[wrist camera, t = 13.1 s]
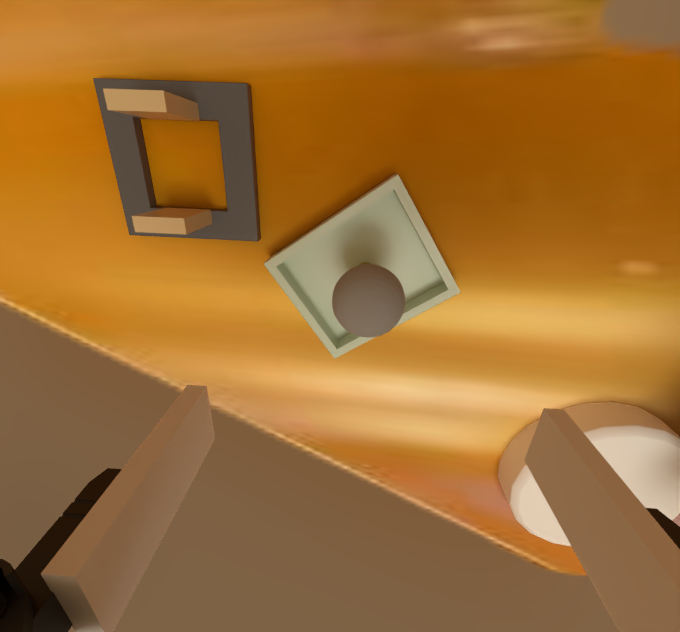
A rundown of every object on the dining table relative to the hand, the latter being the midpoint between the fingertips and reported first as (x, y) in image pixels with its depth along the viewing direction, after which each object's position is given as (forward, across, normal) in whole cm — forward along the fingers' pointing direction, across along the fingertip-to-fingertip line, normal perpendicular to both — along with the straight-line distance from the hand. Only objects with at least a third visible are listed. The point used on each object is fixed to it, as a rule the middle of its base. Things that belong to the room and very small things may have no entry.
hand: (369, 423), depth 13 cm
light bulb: (+20, 0, 0) cm, 20 cm away
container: (+21, +29, -24) cm, 43 cm away
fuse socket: (+20, -16, +9) cm, 27 cm away
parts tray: (+21, 0, 0) cm, 21 cm away
